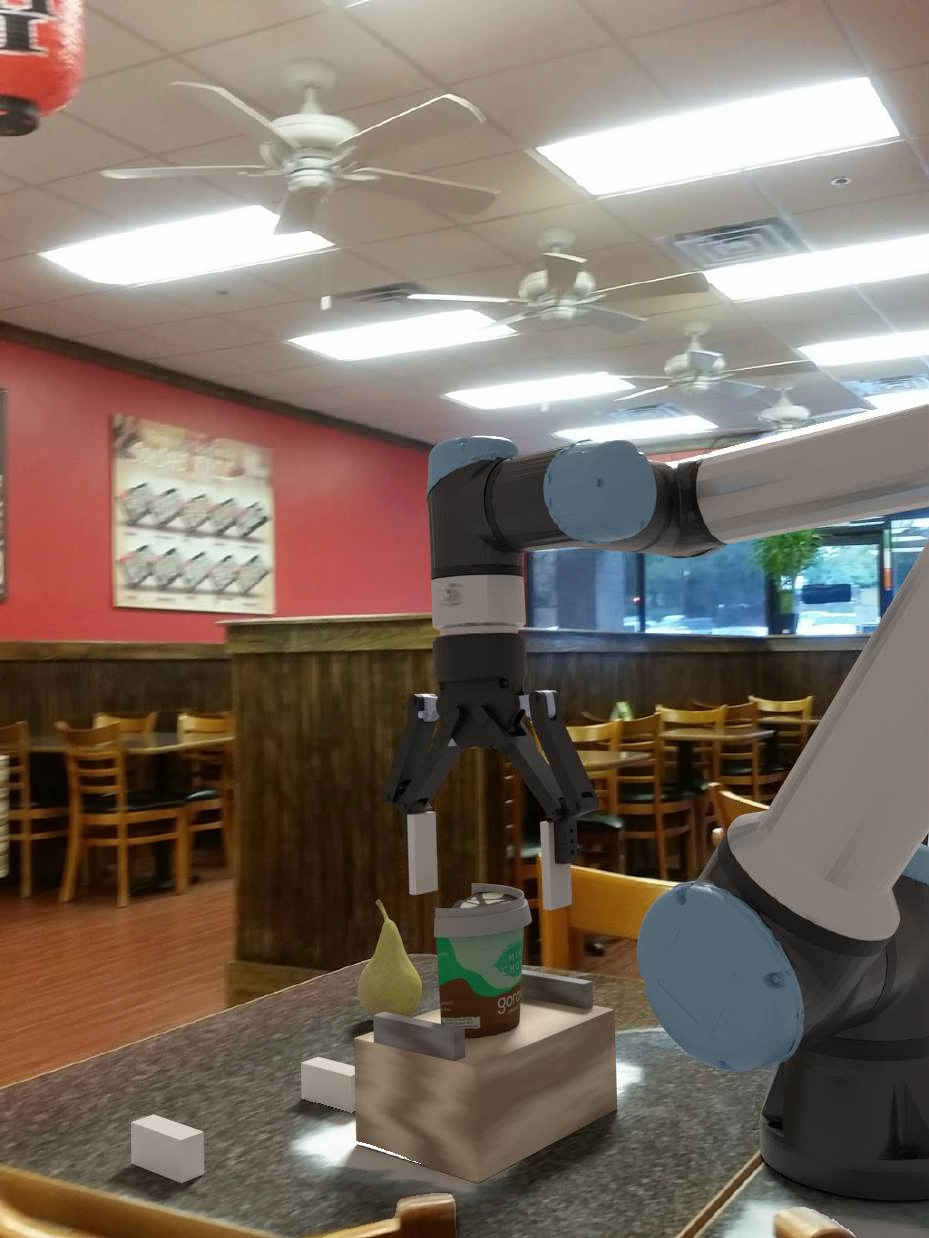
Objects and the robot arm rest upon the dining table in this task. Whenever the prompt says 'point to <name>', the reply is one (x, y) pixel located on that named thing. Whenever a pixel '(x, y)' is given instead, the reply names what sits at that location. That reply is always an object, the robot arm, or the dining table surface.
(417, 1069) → the wooden stand
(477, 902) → the food container
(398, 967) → the fruit
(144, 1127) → the pair of white blocks
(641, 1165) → the dining table surface
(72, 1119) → the dining table surface
